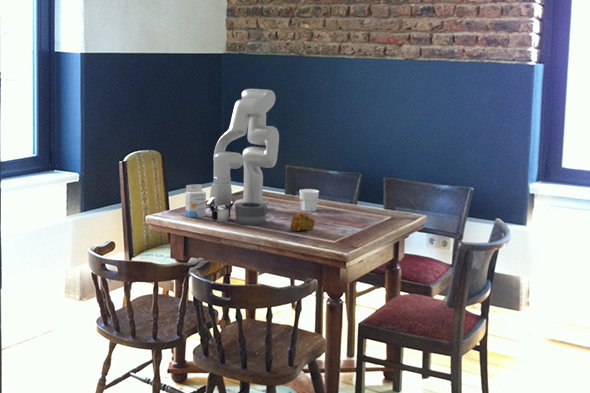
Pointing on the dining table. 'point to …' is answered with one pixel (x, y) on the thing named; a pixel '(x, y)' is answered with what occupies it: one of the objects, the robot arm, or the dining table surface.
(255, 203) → the grey stepped puck
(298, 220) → the rock
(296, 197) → the dining table surface
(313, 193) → the cup
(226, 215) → the cap
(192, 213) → the ink box
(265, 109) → the robot arm
